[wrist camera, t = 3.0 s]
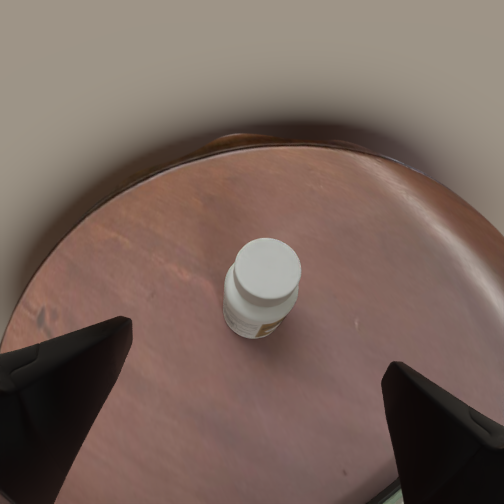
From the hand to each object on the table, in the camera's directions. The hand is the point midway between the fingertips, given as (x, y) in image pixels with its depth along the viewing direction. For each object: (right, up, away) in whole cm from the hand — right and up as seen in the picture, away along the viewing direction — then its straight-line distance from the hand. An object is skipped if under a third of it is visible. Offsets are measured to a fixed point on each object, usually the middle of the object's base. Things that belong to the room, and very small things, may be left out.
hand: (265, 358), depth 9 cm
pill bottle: (0, -1, +13) cm, 13 cm away
